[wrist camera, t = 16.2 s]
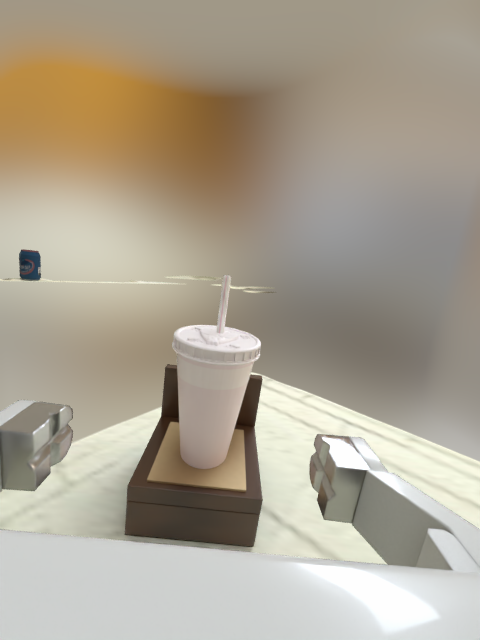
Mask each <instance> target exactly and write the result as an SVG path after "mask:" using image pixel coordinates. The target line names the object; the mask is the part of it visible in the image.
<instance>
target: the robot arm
mask: <svg viewBox="0 0 480 640" xmlns="http://www.w3.org/2000/svg"><path fill="white" fill-rule="evenodd" d="M72 418H73V411H72V408H71V407H70V406H68V405H61V404H53V403H46V402H38V401H30V400H18V401H16V402H15V403H13V404H12V405H10V406H8V407H7V408H5V409H4V410H2V411H0V492H1V491H2V489H9V490H24V491H35V490H36V489H37V488H38V486H39V485H40V484H41V483H42V482H43V481H44V480H45V479H46V477H47V476H48V475H49V474H50V467H51V466H53V465H55V464H57V463H59V462H61V460H62V459H63V458H64V457H65V456H66V454H67V452H68V450H69V448H70V446H71V442H72V437H73V430H72V429H71V427H70V426H69V425H68V423H69V422H70V421H71V420H72ZM314 447H315V449H316V451H317V452H315V453H314V454H313V455H312V456H311V461H310V480H311V483H312V487H313V488H314V489H315V490H316V491H317V492H318V493H319V494H318V498H317V501H318V504H319V507H320V510H321V513H322V516H323V518H324V520H330V521H338V522H345V523H352V525H353V526H354V528H355V529H356V530H357V531H358V532H359V533H360V534H361V535H362V536H363V537H364V539H365V540H366V541H367V542H368V543H369V544H370V545H371V546H372V547H373V549H374V550H375V551H376V552H377V553H378V554H379V555H380V556H381V557H382V559H383V560H384V561H385V562H386V563H387V564H388V565H386V564H375V563H363V562H351V561H341V560H330V559H319V558H308V557H298V556H287V555H276V554H266V553H255V552H244V551H234V550H223V549H212V548H201V547H190V546H179V545H168V544H157V543H146V542H135V541H123V540H112V539H101V538H90V537H79V536H68V535H57V534H47V533H36V532H25V531H14V530H3V529H0V640H480V529H479V528H477V527H476V526H474V525H472V524H471V523H469V522H468V521H466V520H465V519H463V518H462V517H460V516H459V515H457V514H456V513H454V512H453V511H451V510H449V509H448V508H446V507H445V506H443V505H442V504H440V503H439V502H437V501H436V500H434V499H433V498H431V497H430V496H428V495H426V494H425V493H423V492H422V491H420V490H419V489H417V488H416V487H414V486H413V485H411V484H410V483H408V482H406V481H405V480H403V479H402V478H400V477H399V476H397V475H396V474H394V473H389V472H388V471H387V469H386V468H385V467H384V465H383V464H382V463H381V461H380V460H379V459H378V457H377V456H376V454H375V453H374V452H373V450H372V449H371V448H370V446H369V445H368V444H367V442H366V441H365V440H364V439H363V438H361V437H348V436H347V437H346V436H334V435H323V434H317V436H316V438H315V442H314Z"/></svg>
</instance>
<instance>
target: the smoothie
mask: <svg viewBox="0 0 480 640" xmlns="http://www.w3.org/2000/svg"><path fill="white" fill-rule="evenodd" d="M230 281H231V276H225V275H224V276H223V283H222V291H221V300H220V308H219V315H218V323H217V326H213V325H192V326H186V327H182V328H180V329H178V330H176V331H175V333H174V341H173V343H172V347H173V349H174V350H175V352H176V353H177V373H178V401H179V429H180V454H181V457H182V459H183V460H184V462H185V463H187V464H188V465H190V466H192V467H195V468H199V469H210V468H214V467H217V466H219V465H220V464H222V463H223V462H224V460H225V459H226V456H227V452H228V449H229V445H230V442H231V439H232V435H233V432H234V428H235V425H236V421H237V418H238V415H239V411H240V408H241V404H242V401H243V397H244V394H245V390H246V387H247V384H248V381H249V377H250V374H251V370H252V366H253V362H254V361H256V360H257V359H258V358H259V356H260V346H261V342H260V341H259V339H258V338H256V337H255V336H253V335H251V334H249V333H247V332H244V331H241V330H237V329H233V328H228V327H225V320H226V312H227V304H228V296H229V289H230Z"/></svg>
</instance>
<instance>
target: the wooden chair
mask: <svg viewBox="0 0 480 640" xmlns="http://www.w3.org/2000/svg"><path fill="white" fill-rule="evenodd" d="M261 385H262V376H258V375H250V377H249V381H248V384H247V387H246V390H245V394H244V397H243V401H242V404H241V408H240V411H239V415H238V418H237V421H236V425H235V428H234V432H233V435H232V439H231V442H230V445H229V449H228V452H227V456H226V459H225V460H224V462H223V463H222V464H220V465H219V466H217V467H214V468H210V469H199V468H195V467H192V466H190V465H188V464H187V463H185V462H184V460H183V459H182V457H181V454H180V429H179V401H178V373H177V365H170V364H168V365H167V366H166V367H165V379H164V391H163V402H162V413H161V418H160V420H159V422H158V424H157V426H156V428H155V430H154V432H153V435H152V437H151V439H150V441H149V443H148V445H147V447H146V449H145V451H144V453H143V455H142V457H141V459H140V461H139V464H138V466H137V468H136V470H135V472H134V474H133V476H132V478H131V480H130V482H129V484H128V489H127V508H126V525H125V534H128V535H139V536H149V537H159V538H170V539H180V540H190V541H201V542H211V543H221V544H232V545H242V546H252V547H253V546H254V542H255V537H256V531H257V526H258V520H259V515H260V510H261V505H262V491H261V482H260V473H259V464H258V455H257V446H256V437H255V428H254V426H255V421H256V415H257V409H258V403H259V397H260V391H261Z"/></svg>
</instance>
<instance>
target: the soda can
mask: <svg viewBox="0 0 480 640" xmlns="http://www.w3.org/2000/svg"><path fill="white" fill-rule="evenodd" d="M19 261H20V262H19V263H20V277H21V278H22V279H23V280H30V281H38V280H39V279H40V278H41V269H40V267H41V265H40V254H39V253H38V251H32V250H21V252H20V254H19Z"/></svg>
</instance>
